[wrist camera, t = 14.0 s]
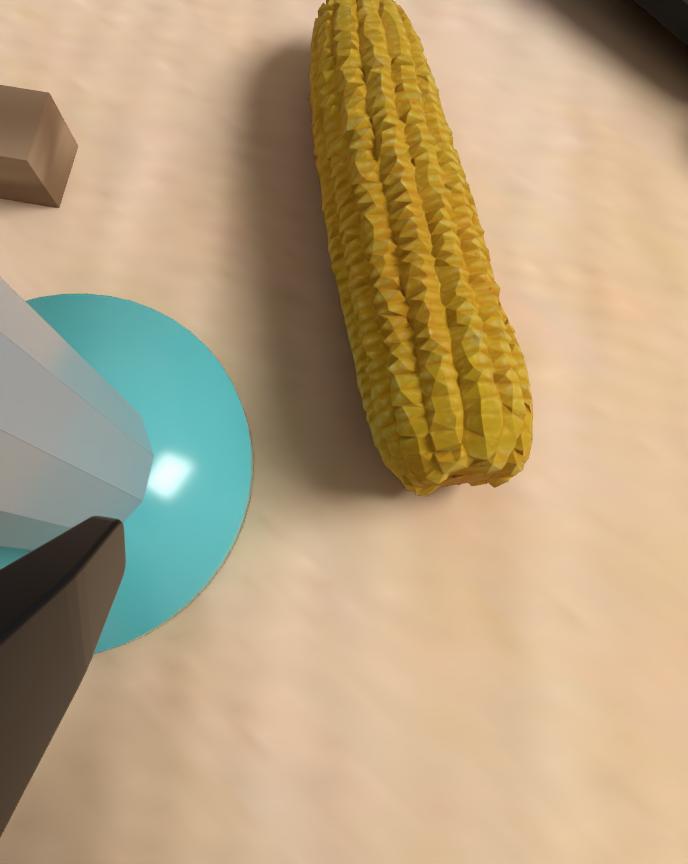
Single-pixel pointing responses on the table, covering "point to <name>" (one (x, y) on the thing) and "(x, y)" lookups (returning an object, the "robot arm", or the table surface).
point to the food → (412, 259)
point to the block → (33, 147)
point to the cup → (60, 435)
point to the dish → (164, 454)
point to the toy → (669, 15)
